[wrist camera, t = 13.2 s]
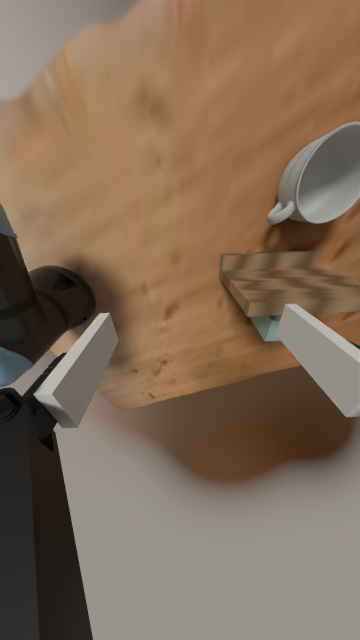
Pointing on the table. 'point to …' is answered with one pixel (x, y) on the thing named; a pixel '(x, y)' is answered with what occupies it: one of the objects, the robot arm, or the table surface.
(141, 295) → the table surface
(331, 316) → the table surface
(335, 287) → the wall board
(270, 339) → the cabinet
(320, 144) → the teacup
